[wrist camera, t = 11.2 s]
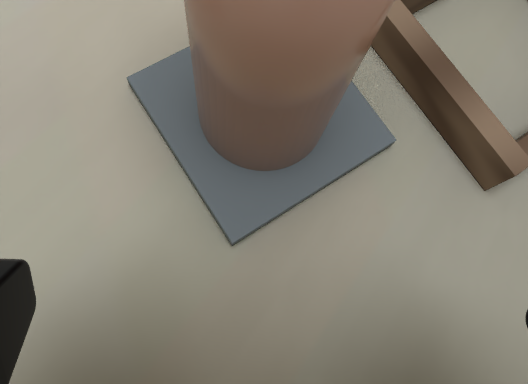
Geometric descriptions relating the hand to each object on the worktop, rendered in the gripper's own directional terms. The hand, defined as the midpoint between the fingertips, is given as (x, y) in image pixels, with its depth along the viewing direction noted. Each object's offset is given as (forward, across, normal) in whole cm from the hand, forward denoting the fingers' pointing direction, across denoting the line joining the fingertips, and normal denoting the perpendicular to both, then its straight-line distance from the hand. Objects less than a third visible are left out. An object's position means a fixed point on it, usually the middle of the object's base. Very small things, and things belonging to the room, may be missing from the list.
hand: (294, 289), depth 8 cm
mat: (+12, 0, +1) cm, 12 cm away
